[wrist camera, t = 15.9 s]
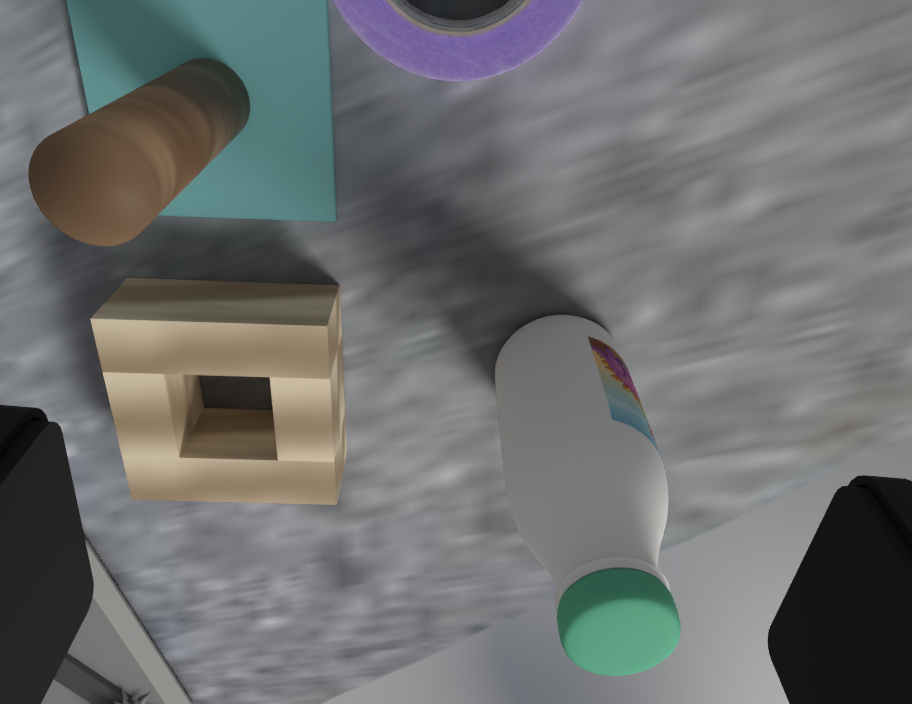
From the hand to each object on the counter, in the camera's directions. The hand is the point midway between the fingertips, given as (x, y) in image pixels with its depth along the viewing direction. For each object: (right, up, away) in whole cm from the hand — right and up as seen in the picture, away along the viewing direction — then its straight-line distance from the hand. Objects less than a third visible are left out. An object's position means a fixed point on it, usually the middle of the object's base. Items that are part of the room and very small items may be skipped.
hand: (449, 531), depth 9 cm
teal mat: (-12, +15, +28) cm, 34 cm away
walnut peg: (-12, +15, +28) cm, 34 cm away
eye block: (-13, +1, +36) cm, 38 cm away
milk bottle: (+6, +1, +36) cm, 37 cm away
